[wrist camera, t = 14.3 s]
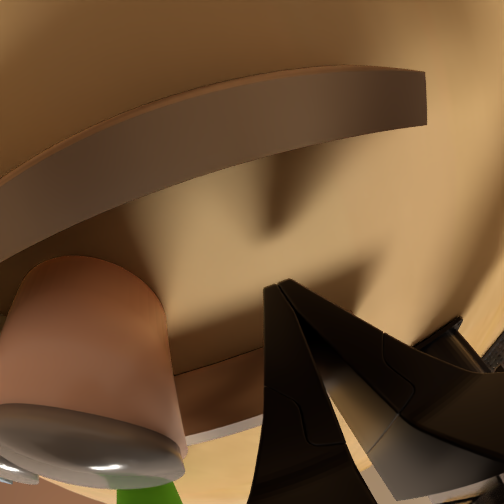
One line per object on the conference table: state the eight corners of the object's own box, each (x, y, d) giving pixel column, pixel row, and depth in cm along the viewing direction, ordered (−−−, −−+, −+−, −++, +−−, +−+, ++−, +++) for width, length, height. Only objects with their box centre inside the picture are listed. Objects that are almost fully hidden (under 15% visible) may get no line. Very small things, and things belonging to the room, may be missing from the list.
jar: (121, 227, 7) (104, 413, 3) (189, 349, 11) (221, 476, 7) (-9, 286, 7) (-56, 421, 2) (75, 379, 10) (76, 490, 6)
